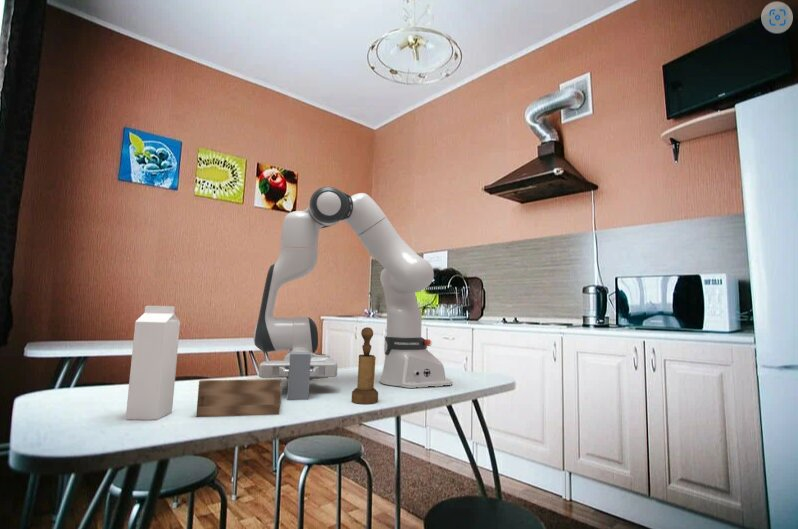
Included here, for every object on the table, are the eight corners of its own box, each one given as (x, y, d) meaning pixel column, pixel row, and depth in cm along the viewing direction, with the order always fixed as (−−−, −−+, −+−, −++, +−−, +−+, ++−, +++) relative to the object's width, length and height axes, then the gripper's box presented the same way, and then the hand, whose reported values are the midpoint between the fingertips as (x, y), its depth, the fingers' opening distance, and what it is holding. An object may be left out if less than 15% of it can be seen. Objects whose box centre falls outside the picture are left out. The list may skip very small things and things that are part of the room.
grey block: (307, 395, 105) (309, 352, 106) (308, 399, 100) (310, 354, 101) (287, 395, 104) (290, 352, 105) (287, 400, 99) (290, 354, 100)
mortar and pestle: (373, 405, 96) (376, 328, 98) (347, 403, 98) (350, 327, 100) (380, 399, 103) (383, 327, 105) (356, 397, 104) (358, 326, 106)
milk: (156, 420, 79) (167, 306, 81) (124, 420, 78) (136, 305, 81) (172, 412, 85) (182, 306, 87) (142, 411, 84) (153, 305, 87)
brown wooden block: (281, 398, 101) (282, 369, 101) (278, 414, 86) (280, 380, 86) (211, 400, 97) (213, 370, 97) (196, 416, 82) (199, 381, 83)
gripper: (260, 354, 113) (256, 360, 100) (334, 354, 118) (340, 360, 105) (259, 377, 112) (254, 387, 99) (333, 377, 117) (338, 385, 104)
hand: (299, 373), depth 102 cm, fingers closed on grey block, 5 cm apart
